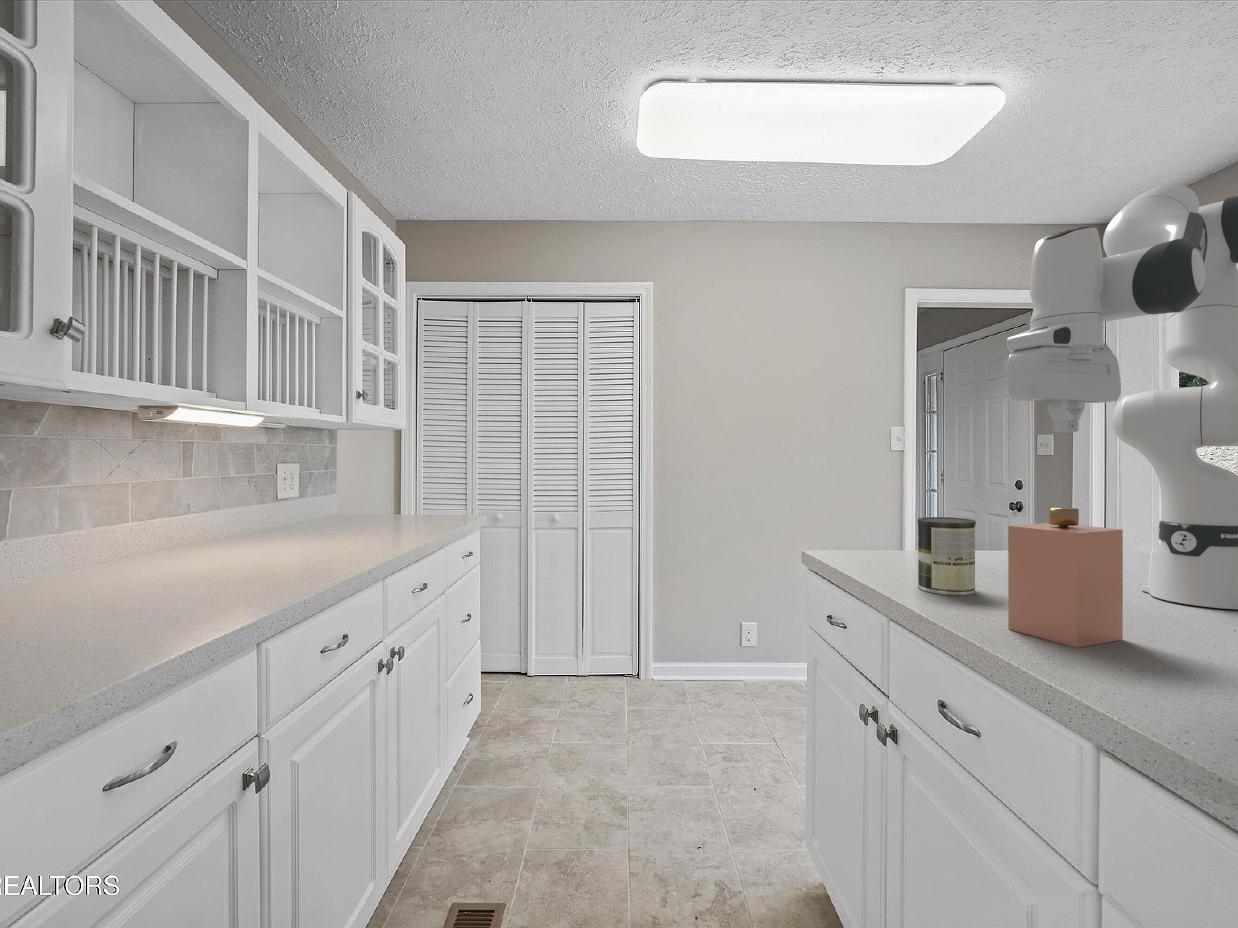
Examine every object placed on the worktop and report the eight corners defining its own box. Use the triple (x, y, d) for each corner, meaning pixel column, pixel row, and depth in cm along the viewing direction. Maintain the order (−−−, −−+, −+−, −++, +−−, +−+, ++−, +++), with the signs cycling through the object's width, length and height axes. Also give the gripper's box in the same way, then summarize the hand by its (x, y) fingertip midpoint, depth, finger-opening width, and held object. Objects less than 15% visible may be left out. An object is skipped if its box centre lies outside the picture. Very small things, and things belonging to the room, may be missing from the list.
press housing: (1052, 622, 98) (1052, 522, 98) (1122, 639, 89) (1122, 529, 88) (1008, 629, 94) (1008, 525, 94) (1077, 647, 85) (1077, 533, 85)
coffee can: (906, 588, 124) (906, 518, 124) (936, 582, 129) (936, 515, 129) (957, 598, 115) (956, 523, 115) (986, 591, 120) (986, 520, 120)
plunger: (1054, 587, 96) (1054, 505, 96) (1109, 598, 89) (1109, 509, 89) (1020, 592, 94) (1020, 507, 93) (1073, 603, 86) (1073, 511, 86)
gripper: (1088, 346, 97) (1088, 433, 98) (997, 339, 90) (998, 433, 90) (1134, 339, 92) (1134, 431, 92) (1040, 331, 84) (1041, 431, 84)
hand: (1066, 432), depth 91 cm, fingers closed
